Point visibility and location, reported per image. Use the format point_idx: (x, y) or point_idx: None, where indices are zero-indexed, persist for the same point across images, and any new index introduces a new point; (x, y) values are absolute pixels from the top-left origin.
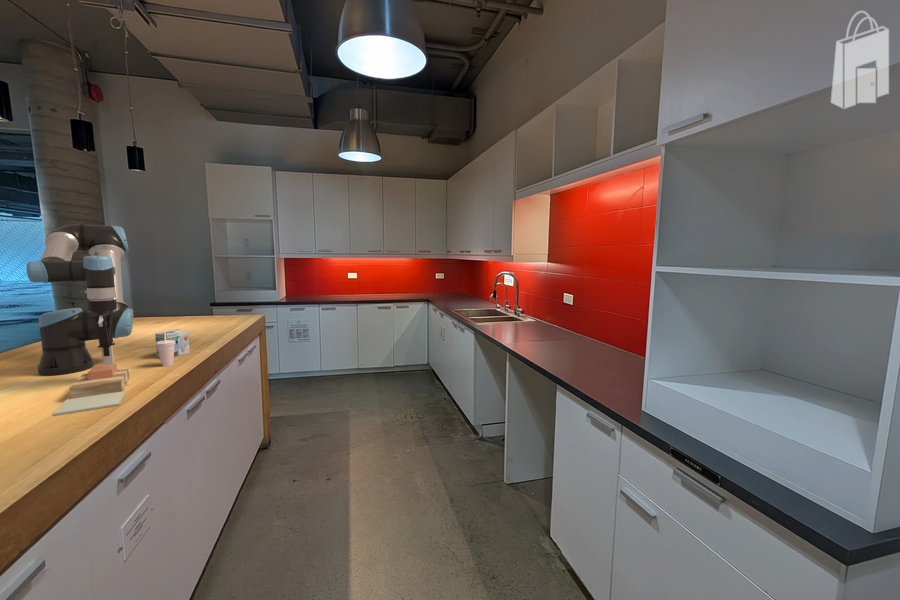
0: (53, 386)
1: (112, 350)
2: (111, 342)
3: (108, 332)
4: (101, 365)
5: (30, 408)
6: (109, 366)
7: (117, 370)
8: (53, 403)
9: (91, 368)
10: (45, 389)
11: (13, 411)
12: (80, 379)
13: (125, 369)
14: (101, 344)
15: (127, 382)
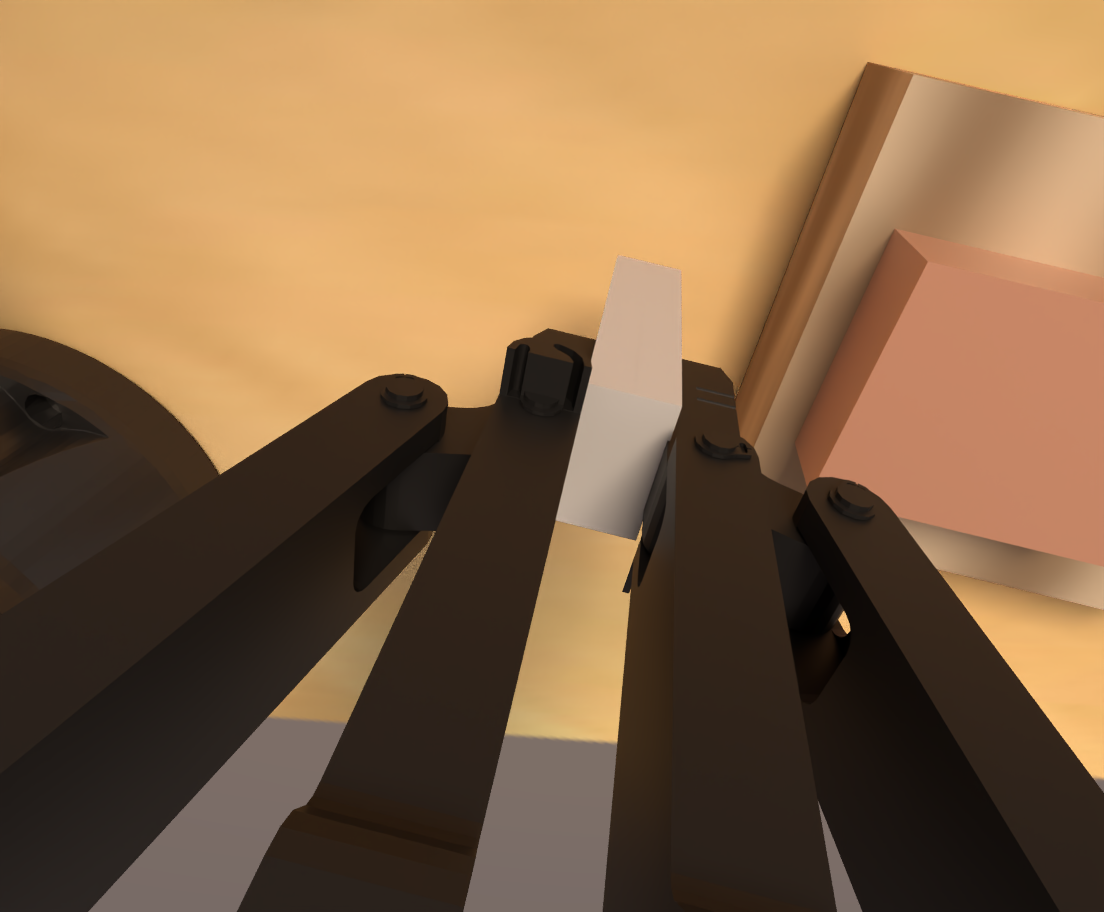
0: (575, 589)
1: (608, 339)
2: (551, 423)
3: (810, 759)
4: (854, 426)
5: (1072, 710)
6: (1041, 359)
7: (902, 224)
8: (1100, 629)
9: (926, 522)
10: (625, 624)
11: None
12: (970, 555)
13: (950, 122)
14: (827, 624)
15: (1037, 101)
